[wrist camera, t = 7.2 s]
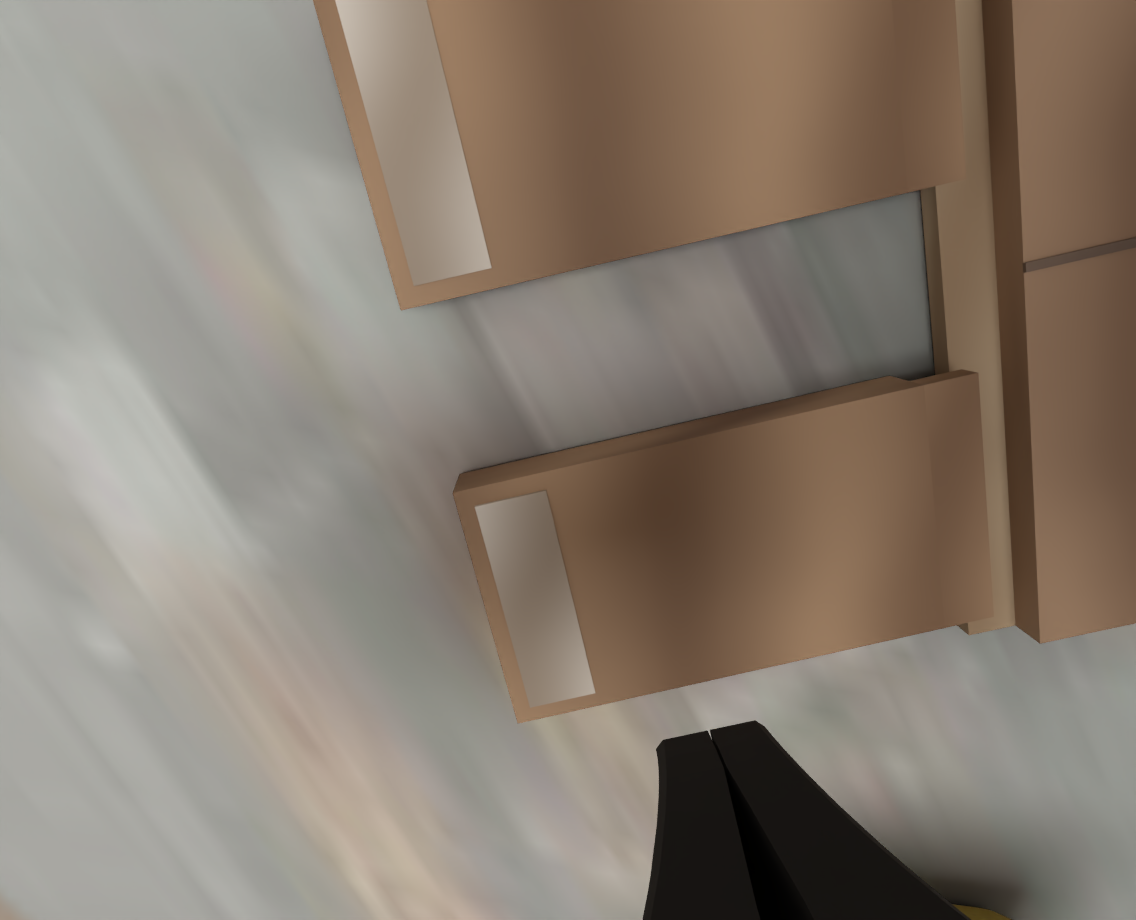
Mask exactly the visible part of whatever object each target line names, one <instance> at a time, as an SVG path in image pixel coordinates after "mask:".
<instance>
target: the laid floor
mask: <svg viewBox="0 0 1136 920" xmlns="http://www.w3.org/2000/svg"><path fill="white" fill-rule="evenodd" d="M955 7H956V23H957V39H958V55H959V70H960V86H961V102H962V118H963V134H964V149H965V165H966V179H964V180H960V181H956V182H951V183H947V184H943V185H938V186H934V187H930V188H925V189H921V203H922V215H923V228H924V240H925V253H926V265H927V277H928V290H929V302H930V315H931V327H932V340H933V352H934V365H935V375H938V374H943V373H947V372H952V371H956V370H960V369H963V370H968V371H973V372H977V373H978V374H979V389H980V405H981V421H982V437H983V453H984V468H985V484H986V500H987V516H988V532H989V547H990V563H991V579H992V595H993V611H994V617H991V618H987V619H982V620H978V621H973V622H969V623H964V624H960V625H957V626H959V627H960V628H961V629H962V630H963V631H964V632H966V633H967V634H968V635H972V634H977V633H982V632H986V631H991V630H996V629H1000V628H1005V627H1010V626H1014V625H1016V626H1017V627H1018V628H1020V629H1021V630H1023V631H1024V632H1025V633H1027V634H1028V635H1029V636H1031V637H1032V638H1033V639H1035V640H1036V641H1037V642H1039V643H1045V642H1050V641H1055V640H1059V639H1064V638H1069V637H1073V636H1078V635H1083V634H1087V633H1092V632H1097V631H1101V630H1106V629H1111V628H1115V627H1120V626H1125V625H1129V624H1134V623H1136V0H955Z"/></svg>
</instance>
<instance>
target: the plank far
mask: <svg viewBox="0 0 1136 920" xmlns="http://www.w3.org/2000/svg"><path fill="white" fill-rule="evenodd" d="M453 496H454V500H455V503H456V507H457V510H458V514H459V517H460V521H461V524H462V528H463V531H464V535H465V539H466V542H467V546H468V549H469V553H470V556H471V560H472V563H473V567H474V570H475V574H476V577H477V581H478V584H479V588H480V592H481V595H482V599H483V602H484V606H485V609H486V613H487V616H488V620H489V623H490V627H491V630H492V634H493V637H494V641H495V645H496V648H497V652H498V655H499V659H500V662H501V666H502V669H503V673H504V676H505V680H506V683H507V687H508V690H509V694H510V698H511V701H512V705H513V708H514V712H515V715H516V719H517V722H518V723H522V722H527V721H531V720H535V719H540V718H544V717H549V716H553V715H558V714H562V713H567V712H571V711H576V710H580V709H585V708H589V707H594V706H598V705H602V704H607V703H611V702H616V701H620V700H625V699H629V698H634V697H638V696H643V695H647V694H652V693H656V692H661V691H665V690H669V689H674V688H678V687H683V686H687V685H692V684H696V683H701V682H705V681H710V680H714V679H719V678H723V677H728V676H732V675H736V674H741V673H745V672H750V671H754V670H759V669H763V668H768V667H772V666H777V665H781V664H786V663H790V662H794V661H799V660H803V659H808V658H812V657H817V656H821V655H826V654H830V653H835V652H839V651H844V650H848V649H853V648H857V647H861V646H866V645H870V644H875V643H879V642H884V641H888V640H893V639H897V638H902V637H906V636H911V635H915V634H920V633H924V632H928V631H933V630H937V629H942V628H946V627H951V626H955V625H960V624H964V623H969V622H973V621H978V620H982V619H987V618H991V617H994V611H993V595H992V579H991V563H990V547H989V532H988V516H987V500H986V484H985V468H984V453H983V437H982V421H981V405H980V389H979V374H978V373H977V372H973V371H968V370H963V369H960V370H956V371H952V372H947V373H943V374H938V375H934V376H930V377H925V378H921V379H917V380H912V381H907V380H903V379H900V378H896V377H892V376H886V377H881V378H877V379H873V380H868V381H864V382H859V383H855V384H851V385H846V386H842V387H838V388H833V389H829V390H825V391H820V392H816V393H811V394H807V395H803V396H798V397H794V398H790V399H785V400H781V401H776V402H772V403H768V404H763V405H759V406H755V407H750V408H746V409H742V410H737V411H733V412H728V413H724V414H720V415H715V416H711V417H707V418H702V419H698V420H693V421H689V422H685V423H680V424H676V425H672V426H667V427H663V428H659V429H654V430H650V431H645V432H641V433H637V434H632V435H628V436H624V437H619V438H615V439H610V440H606V441H602V442H597V443H593V444H589V445H584V446H580V447H576V448H571V449H567V450H562V451H558V452H554V453H549V454H545V455H541V456H536V457H532V458H527V459H523V460H519V461H514V462H510V463H506V464H501V465H497V466H493V467H488V468H484V469H479V470H475V471H471V472H466V473H462V474H460V475H459V478H458V480H457V483H456V485H455V488H454V491H453Z"/></svg>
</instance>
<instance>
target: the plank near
mask: <svg viewBox="0 0 1136 920" xmlns="http://www.w3.org/2000/svg"><path fill="white" fill-rule="evenodd" d="M313 2H314V5H315V9H316V12H317V16H318V20H319V23H320V27H321V30H322V34H323V37H324V41H325V44H326V48H327V51H328V55H329V58H330V62H331V65H332V69H333V73H334V76H335V80H336V83H337V87H338V90H339V94H340V97H341V101H342V104H343V108H344V111H345V115H346V118H347V122H348V126H349V129H350V133H351V136H352V140H353V143H354V147H355V150H356V154H357V157H358V161H359V164H360V168H361V171H362V175H363V179H364V182H365V186H366V189H367V193H368V196H369V200H370V203H371V207H372V210H373V214H374V217H375V221H376V224H377V228H378V232H379V235H380V239H381V242H382V246H383V249H384V253H385V256H386V260H387V263H388V267H389V270H390V274H391V277H392V281H393V285H394V288H395V292H396V295H397V299H398V302H399V306H400V309H401V310H405V309H409V308H413V307H417V306H422V305H426V304H430V303H435V302H439V301H443V300H448V299H452V298H456V297H461V296H465V295H469V294H473V293H478V292H482V291H486V290H491V289H495V288H499V287H504V286H508V285H512V284H516V283H521V282H525V281H529V280H534V279H538V278H542V277H547V276H551V275H555V274H560V273H564V272H568V271H572V270H577V269H581V268H585V267H590V266H594V265H598V264H603V263H607V262H611V261H615V260H620V259H624V258H628V257H633V256H637V255H641V254H646V253H650V252H654V251H659V250H663V249H667V248H671V247H676V246H680V245H684V244H689V243H693V242H697V241H702V240H706V239H710V238H714V237H719V236H723V235H727V234H732V233H736V232H740V231H745V230H749V229H753V228H758V227H762V226H766V225H770V224H775V223H779V222H783V221H788V220H792V219H796V218H801V217H805V216H809V215H813V214H818V213H822V212H826V211H831V210H835V209H839V208H844V207H848V206H852V205H857V204H861V203H865V202H869V201H874V200H878V199H882V198H887V197H891V196H895V195H900V194H904V193H908V192H912V191H917V190H921V189H925V188H930V187H934V186H938V185H943V184H947V183H951V182H956V181H960V180H964V179H966V165H965V149H964V134H963V118H962V102H961V86H960V70H959V55H958V39H957V23H956V7H955V0H313Z"/></svg>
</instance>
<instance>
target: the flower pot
mask: <svg viewBox="0 0 1136 920" xmlns="http://www.w3.org/2000/svg"><path fill="white" fill-rule="evenodd" d="M952 905H954V904H952ZM954 906H955V907H956V908H957V909H959V910H960V911H961V912H962V913H964V914H965V915H966V916H967V917H969V918H970V919H971V920H1012V919H1009V918H1007V917H1005V916H1003V915H1001V914H998V913H996V912H994V911H991V910H988V909H983V908H977V907H969V906H962V905H954Z"/></svg>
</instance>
